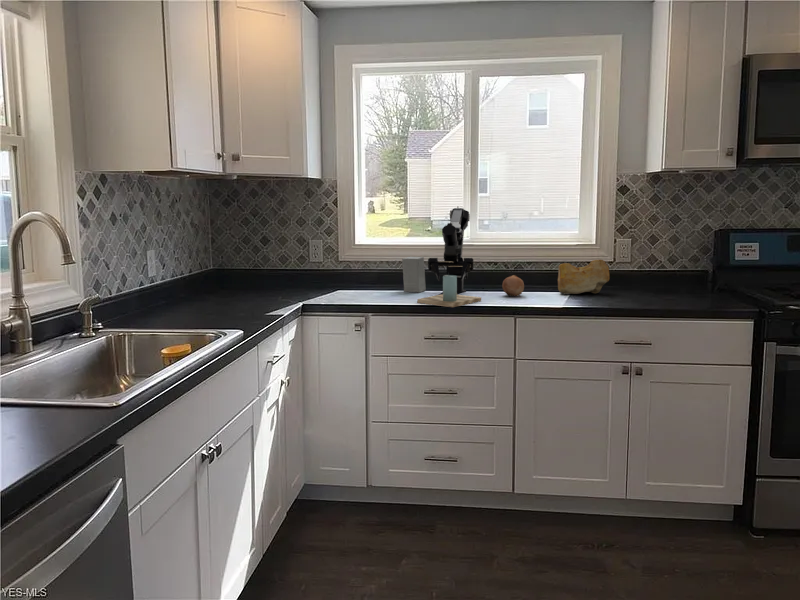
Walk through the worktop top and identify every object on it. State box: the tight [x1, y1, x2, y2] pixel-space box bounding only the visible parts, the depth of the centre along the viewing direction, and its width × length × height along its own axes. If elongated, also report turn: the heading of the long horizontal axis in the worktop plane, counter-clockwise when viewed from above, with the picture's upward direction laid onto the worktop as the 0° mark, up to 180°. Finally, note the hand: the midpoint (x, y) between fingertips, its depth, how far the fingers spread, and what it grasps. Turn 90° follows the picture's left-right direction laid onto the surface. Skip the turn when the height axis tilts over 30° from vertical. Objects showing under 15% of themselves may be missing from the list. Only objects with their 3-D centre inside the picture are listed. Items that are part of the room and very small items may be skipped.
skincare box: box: [401, 256, 427, 293], centre depth 304 cm, size 8×7×16 cm
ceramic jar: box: [442, 274, 458, 302], centre depth 270 cm, size 6×6×10 cm
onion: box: [501, 274, 525, 297], centre depth 290 cm, size 10×9×10 cm
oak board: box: [417, 293, 482, 308], centre depth 276 cm, size 20×18×2 cm
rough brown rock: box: [557, 259, 611, 295], centre depth 298 cm, size 23×17×15 cm
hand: (450, 280), depth 272 cm, fingers open, 9 cm apart
